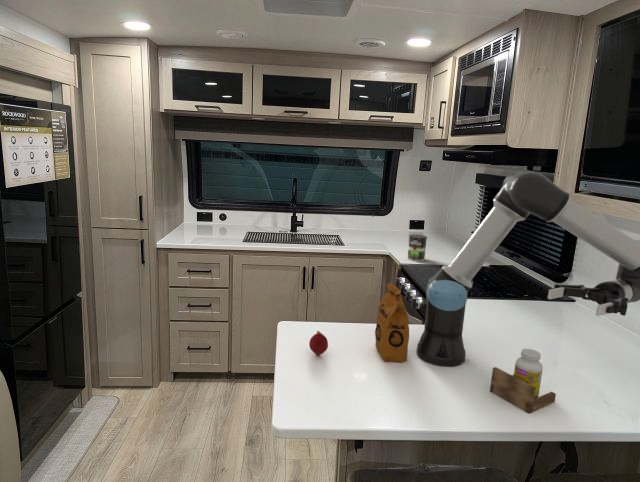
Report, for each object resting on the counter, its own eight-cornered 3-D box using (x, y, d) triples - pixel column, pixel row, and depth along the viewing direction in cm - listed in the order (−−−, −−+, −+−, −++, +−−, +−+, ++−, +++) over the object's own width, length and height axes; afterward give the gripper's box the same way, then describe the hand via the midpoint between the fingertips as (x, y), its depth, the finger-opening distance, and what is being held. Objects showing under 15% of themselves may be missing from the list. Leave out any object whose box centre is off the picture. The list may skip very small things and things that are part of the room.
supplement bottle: (508, 396, 122) (514, 352, 119) (514, 387, 127) (521, 344, 124) (534, 406, 118) (541, 360, 115) (540, 395, 123) (547, 352, 120)
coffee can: (422, 262, 265) (424, 238, 262) (405, 259, 269) (407, 236, 266) (426, 258, 274) (428, 235, 271) (410, 256, 278) (412, 233, 275)
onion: (327, 351, 144) (328, 327, 142) (327, 359, 138) (329, 335, 136) (308, 350, 143) (309, 327, 142) (308, 359, 138) (309, 334, 136)
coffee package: (378, 363, 137) (383, 294, 133) (372, 345, 149) (376, 282, 145) (410, 364, 138) (417, 295, 133) (401, 346, 150) (407, 283, 145)
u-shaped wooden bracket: (489, 391, 124) (492, 368, 122) (514, 381, 130) (518, 359, 128) (529, 413, 114) (533, 388, 113) (554, 402, 120) (558, 378, 118)
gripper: (656, 320, 126) (617, 332, 115) (569, 292, 147) (529, 300, 136) (662, 294, 124) (624, 304, 113) (573, 270, 145) (533, 276, 134)
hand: (572, 302), depth 124 cm, fingers open, 13 cm apart
